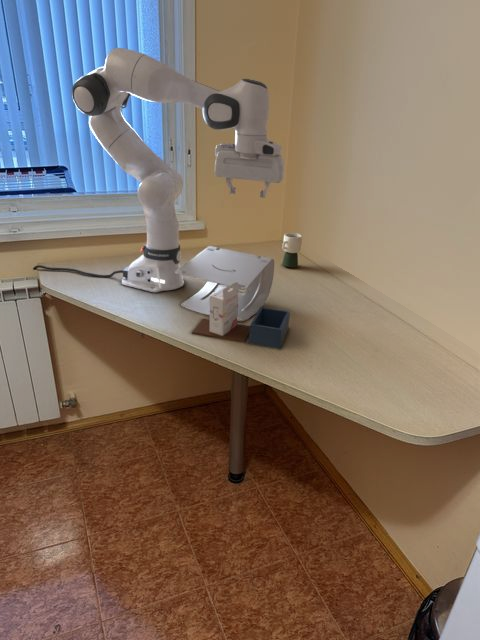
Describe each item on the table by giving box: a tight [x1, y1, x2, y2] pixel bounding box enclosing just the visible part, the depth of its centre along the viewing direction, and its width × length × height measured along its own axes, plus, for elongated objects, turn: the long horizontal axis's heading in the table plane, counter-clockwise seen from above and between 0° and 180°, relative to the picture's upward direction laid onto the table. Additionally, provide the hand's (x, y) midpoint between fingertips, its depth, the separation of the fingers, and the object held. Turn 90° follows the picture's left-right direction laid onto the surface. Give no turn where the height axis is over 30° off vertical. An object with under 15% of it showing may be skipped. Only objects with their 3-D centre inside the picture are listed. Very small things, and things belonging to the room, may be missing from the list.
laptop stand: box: [175, 245, 275, 323], centre depth 160 cm, size 26×24×16 cm
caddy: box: [248, 306, 291, 350], centre depth 143 cm, size 9×13×6 cm
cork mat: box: [191, 317, 250, 343], centre depth 146 cm, size 16×10×1 cm, turn 74°
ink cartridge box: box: [209, 281, 240, 336], centre depth 142 cm, size 9×5×15 cm, turn 148°
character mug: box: [281, 232, 303, 268], centre depth 195 cm, size 11×7×13 cm, turn 131°
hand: (247, 195), depth 144 cm, fingers open, 8 cm apart
